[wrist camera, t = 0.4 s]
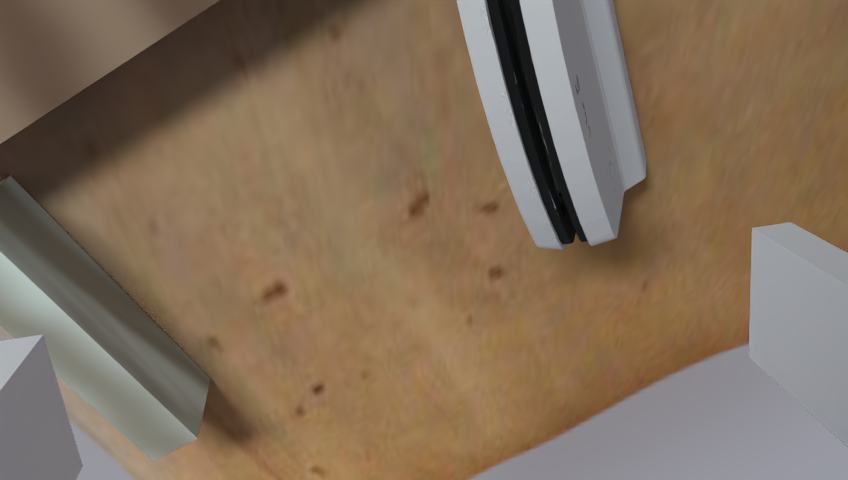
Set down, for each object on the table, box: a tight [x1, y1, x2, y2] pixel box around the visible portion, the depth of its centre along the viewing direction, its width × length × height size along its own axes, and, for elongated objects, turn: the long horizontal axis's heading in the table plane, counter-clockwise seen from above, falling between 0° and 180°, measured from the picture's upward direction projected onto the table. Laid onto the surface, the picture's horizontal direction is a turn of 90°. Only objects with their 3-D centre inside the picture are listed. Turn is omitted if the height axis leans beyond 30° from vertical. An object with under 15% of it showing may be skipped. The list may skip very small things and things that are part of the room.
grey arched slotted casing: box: [457, 0, 647, 250], centre depth 36 cm, size 17×5×10 cm, turn 19°
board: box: [0, 0, 219, 462], centre depth 37 cm, size 32×26×5 cm
